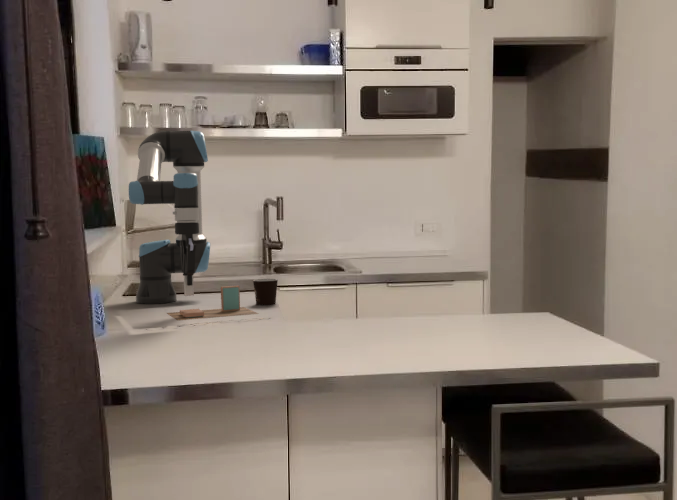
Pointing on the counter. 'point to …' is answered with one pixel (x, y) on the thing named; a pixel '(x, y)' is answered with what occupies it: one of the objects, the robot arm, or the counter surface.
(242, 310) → the board
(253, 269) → the counter surface
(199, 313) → the tile
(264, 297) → the coffee mug
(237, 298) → the tile
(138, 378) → the counter surface
